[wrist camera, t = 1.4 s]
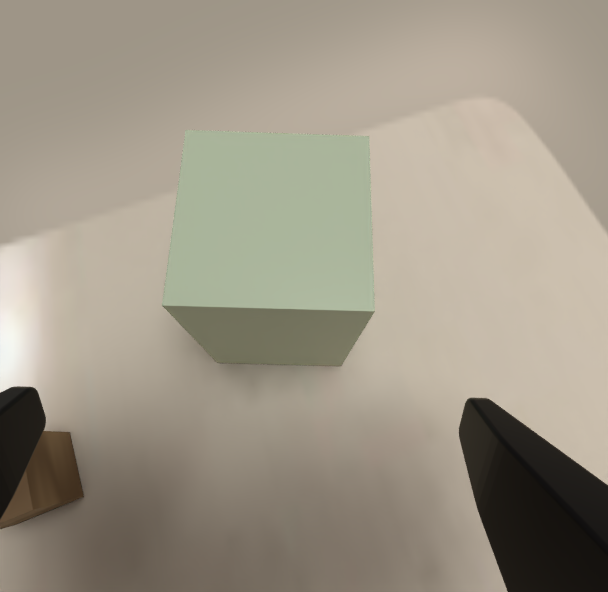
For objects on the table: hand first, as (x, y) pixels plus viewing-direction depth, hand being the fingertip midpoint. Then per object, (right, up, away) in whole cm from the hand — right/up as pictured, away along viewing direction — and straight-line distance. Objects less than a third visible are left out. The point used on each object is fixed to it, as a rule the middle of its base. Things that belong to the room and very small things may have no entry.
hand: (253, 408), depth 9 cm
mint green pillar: (0, +2, +14) cm, 14 cm away
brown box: (-11, -6, +11) cm, 16 cm away
